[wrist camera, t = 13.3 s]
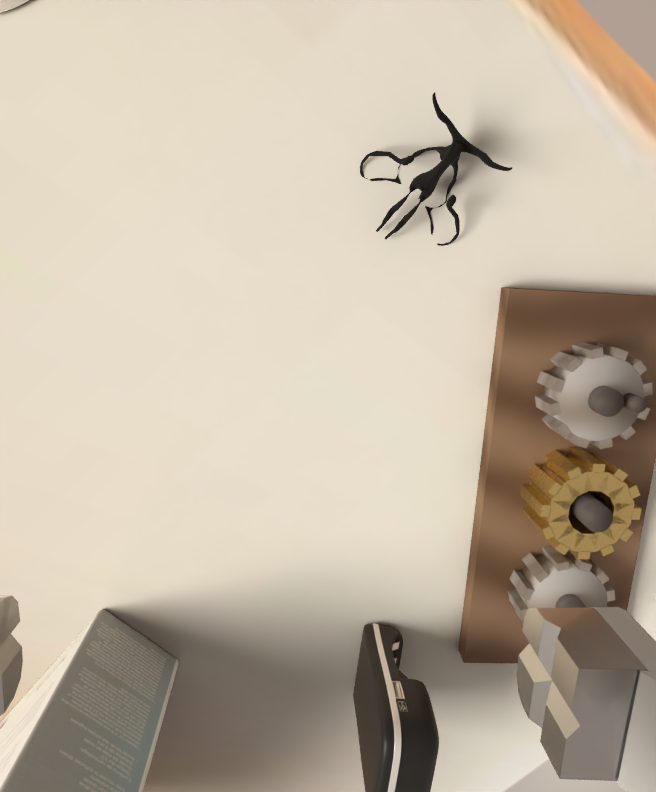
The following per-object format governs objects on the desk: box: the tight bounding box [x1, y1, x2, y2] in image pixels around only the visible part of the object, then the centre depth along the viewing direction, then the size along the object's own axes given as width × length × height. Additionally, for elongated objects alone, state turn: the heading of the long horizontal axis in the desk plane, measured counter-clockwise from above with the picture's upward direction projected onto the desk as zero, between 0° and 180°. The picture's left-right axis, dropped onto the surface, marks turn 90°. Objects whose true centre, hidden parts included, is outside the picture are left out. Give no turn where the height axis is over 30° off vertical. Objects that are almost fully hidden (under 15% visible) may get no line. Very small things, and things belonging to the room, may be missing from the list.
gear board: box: [459, 288, 656, 663], centre depth 40 cm, size 28×12×6 cm, turn 177°
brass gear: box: [521, 447, 642, 559], centre depth 40 cm, size 7×7×4 cm
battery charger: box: [354, 623, 439, 792], centre depth 40 cm, size 7×4×11 cm, turn 173°
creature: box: [360, 93, 512, 246], centre depth 35 cm, size 8×5×8 cm
